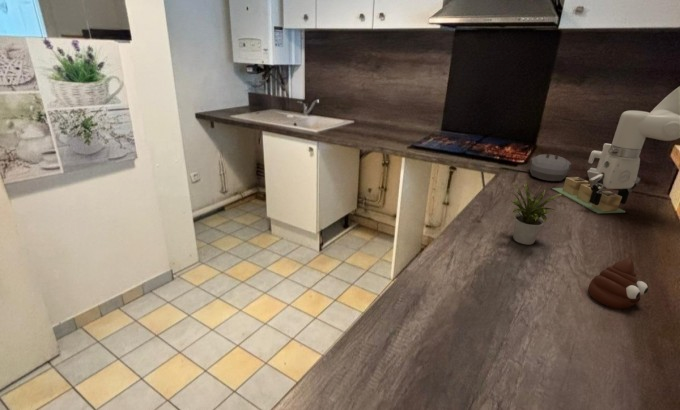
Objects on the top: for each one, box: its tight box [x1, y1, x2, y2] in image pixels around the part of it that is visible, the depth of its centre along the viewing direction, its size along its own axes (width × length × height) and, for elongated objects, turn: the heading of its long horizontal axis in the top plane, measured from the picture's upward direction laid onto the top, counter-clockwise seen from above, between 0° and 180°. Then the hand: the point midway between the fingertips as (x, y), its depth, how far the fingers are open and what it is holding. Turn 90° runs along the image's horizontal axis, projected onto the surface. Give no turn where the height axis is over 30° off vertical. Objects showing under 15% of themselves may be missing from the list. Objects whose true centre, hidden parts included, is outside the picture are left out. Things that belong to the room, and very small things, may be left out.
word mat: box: [551, 187, 626, 215], centre depth 125 cm, size 10×22×1 cm, turn 8°
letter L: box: [562, 176, 589, 195], centre depth 130 cm, size 5×5×5 cm
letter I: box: [577, 183, 606, 203], centre depth 123 cm, size 5×5×5 cm
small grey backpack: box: [529, 153, 572, 182], centre depth 148 cm, size 15×8×20 cm
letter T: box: [592, 190, 622, 211], centre depth 117 cm, size 5×5×5 cm
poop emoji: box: [588, 257, 649, 310], centre depth 73 cm, size 10×8×9 cm
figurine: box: [587, 143, 612, 180], centre depth 142 cm, size 7×9×15 cm
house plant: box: [507, 180, 564, 246], centre depth 95 cm, size 14×14×16 cm
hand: (606, 203), depth 117 cm, fingers open, 9 cm apart
